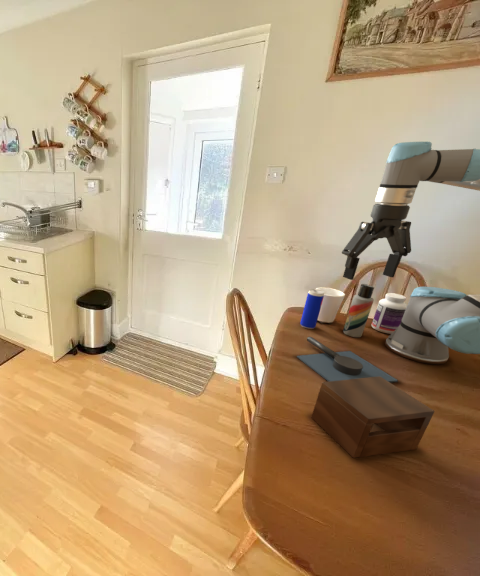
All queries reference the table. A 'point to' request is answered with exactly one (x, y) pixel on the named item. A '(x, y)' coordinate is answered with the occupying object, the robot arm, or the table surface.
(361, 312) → the lotion bottle
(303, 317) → the beverage can
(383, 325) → the pill bottle
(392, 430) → the wooden box
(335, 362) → the small frying pan
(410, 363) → the table surface
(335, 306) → the cup
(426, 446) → the table surface
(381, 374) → the mat
